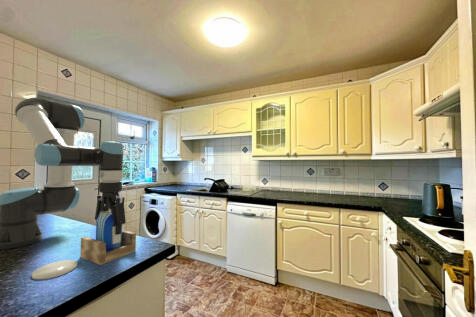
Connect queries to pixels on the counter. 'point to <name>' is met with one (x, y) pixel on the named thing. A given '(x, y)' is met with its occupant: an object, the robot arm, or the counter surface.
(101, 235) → the beer can
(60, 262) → the trivet
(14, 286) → the counter surface
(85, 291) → the counter surface
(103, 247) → the oak holder
